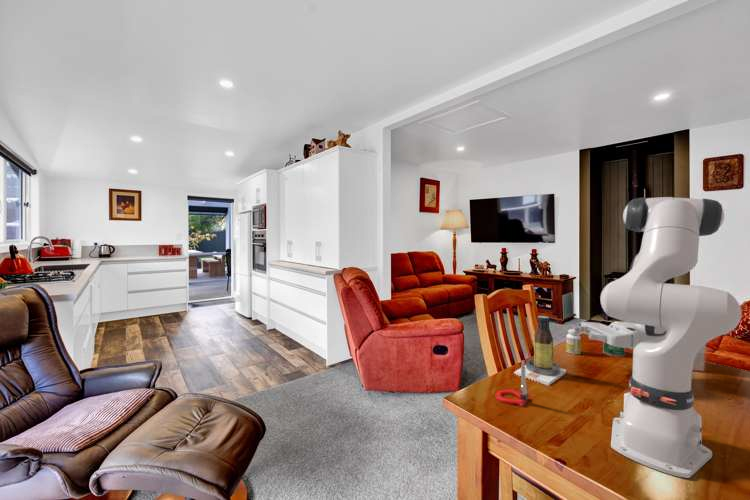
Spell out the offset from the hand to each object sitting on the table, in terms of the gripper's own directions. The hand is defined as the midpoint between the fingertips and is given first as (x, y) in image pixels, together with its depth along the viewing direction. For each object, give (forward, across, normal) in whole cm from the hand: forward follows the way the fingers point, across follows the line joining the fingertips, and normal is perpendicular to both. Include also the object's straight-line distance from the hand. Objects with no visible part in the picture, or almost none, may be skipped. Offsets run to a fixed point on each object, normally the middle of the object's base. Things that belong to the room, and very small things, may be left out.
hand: (581, 332), depth 121 cm
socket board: (+15, +1, +15) cm, 21 cm away
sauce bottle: (+14, 0, +14) cm, 20 cm away
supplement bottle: (-9, -23, +15) cm, 29 cm away
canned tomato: (-26, -23, +15) cm, 38 cm away
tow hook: (+32, +21, +16) cm, 41 cm away
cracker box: (-46, -12, +15) cm, 50 cm away
